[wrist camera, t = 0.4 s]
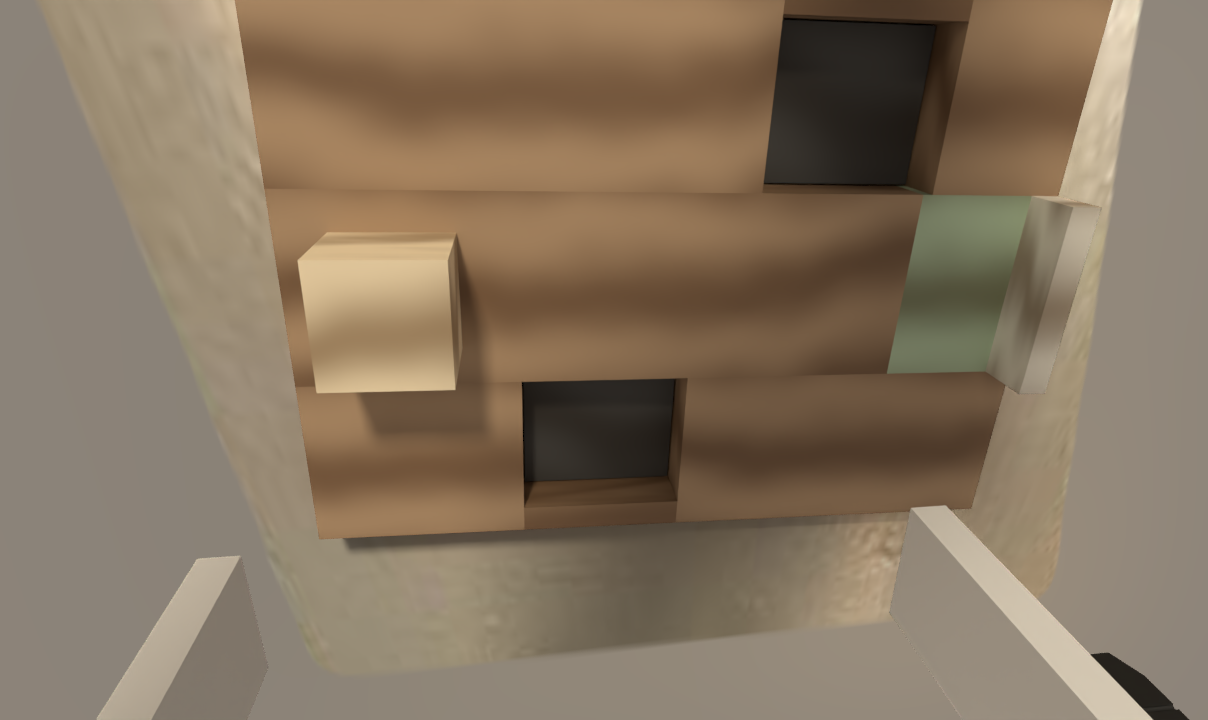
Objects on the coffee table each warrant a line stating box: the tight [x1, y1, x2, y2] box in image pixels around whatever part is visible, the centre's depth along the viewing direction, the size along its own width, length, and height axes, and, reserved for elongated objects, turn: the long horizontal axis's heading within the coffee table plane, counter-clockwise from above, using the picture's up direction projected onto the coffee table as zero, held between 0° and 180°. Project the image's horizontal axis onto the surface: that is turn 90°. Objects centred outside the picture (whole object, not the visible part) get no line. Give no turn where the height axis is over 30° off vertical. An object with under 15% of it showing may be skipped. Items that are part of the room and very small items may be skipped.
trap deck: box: [235, 0, 1113, 539], centre depth 37 cm, size 29×40×6 cm
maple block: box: [297, 232, 463, 393], centre depth 33 cm, size 6×6×5 cm
